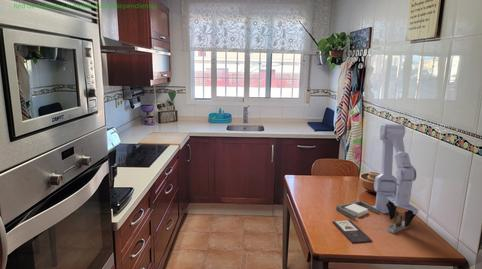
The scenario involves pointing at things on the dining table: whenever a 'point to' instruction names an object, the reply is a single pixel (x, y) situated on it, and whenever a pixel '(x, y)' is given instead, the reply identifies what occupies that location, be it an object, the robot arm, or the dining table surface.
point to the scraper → (397, 224)
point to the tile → (356, 210)
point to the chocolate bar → (352, 231)
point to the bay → (342, 207)
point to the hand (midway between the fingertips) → (399, 222)
